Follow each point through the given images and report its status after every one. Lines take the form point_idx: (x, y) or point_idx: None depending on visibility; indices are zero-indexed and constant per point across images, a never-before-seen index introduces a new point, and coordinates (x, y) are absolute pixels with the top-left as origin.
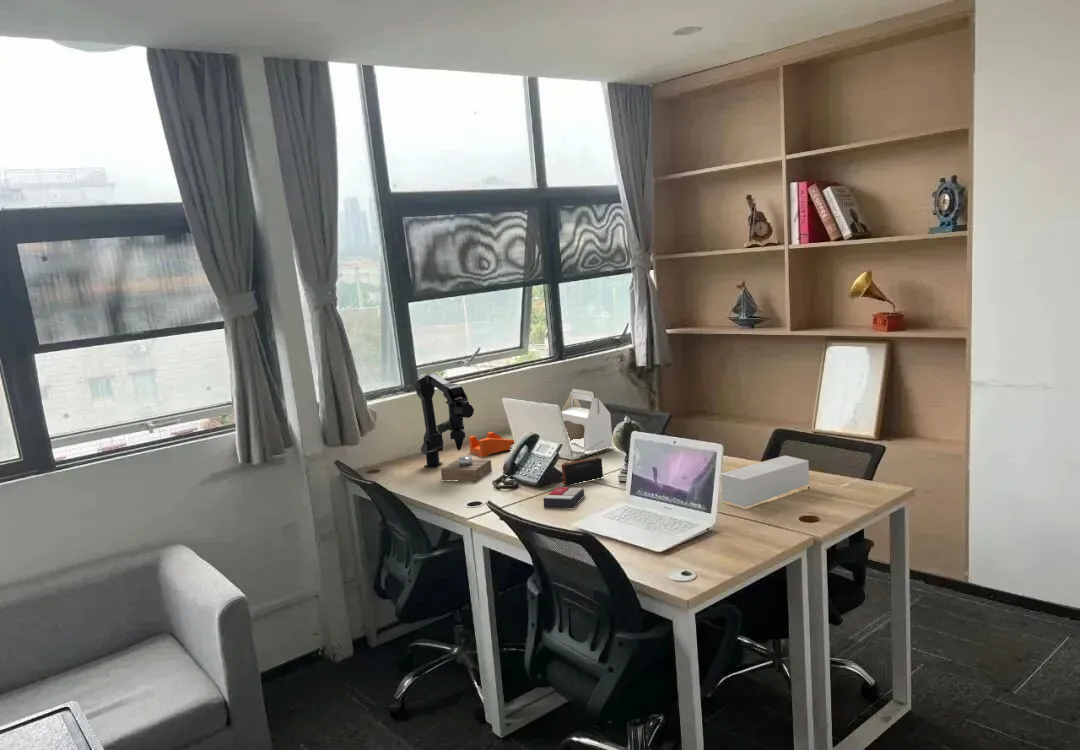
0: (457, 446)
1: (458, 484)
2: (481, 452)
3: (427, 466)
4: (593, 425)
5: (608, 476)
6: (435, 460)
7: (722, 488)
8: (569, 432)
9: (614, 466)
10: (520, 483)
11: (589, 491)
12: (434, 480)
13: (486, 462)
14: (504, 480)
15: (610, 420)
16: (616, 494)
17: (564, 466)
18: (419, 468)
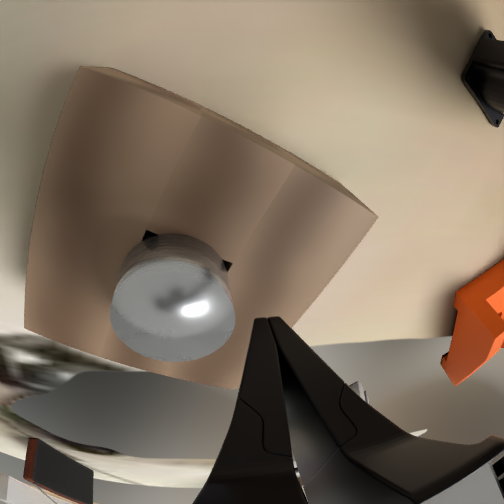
0: (244, 366)
1: (11, 191)
2: (471, 300)
3: (480, 40)
4: None
5: (97, 475)
6: (497, 87)
7: (6, 488)
8: None
9: (162, 485)
10: (36, 394)
11: (10, 444)
12: (152, 11)
13: (181, 378)
14: (64, 370)
15: None
16: (6, 453)
17: (23, 476)
18: (475, 3)
